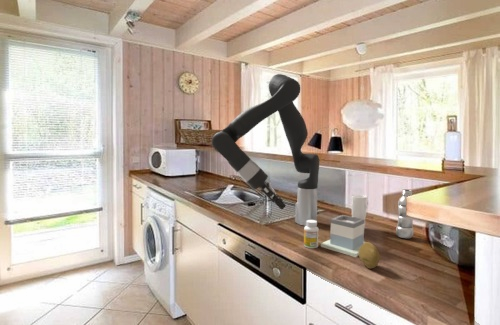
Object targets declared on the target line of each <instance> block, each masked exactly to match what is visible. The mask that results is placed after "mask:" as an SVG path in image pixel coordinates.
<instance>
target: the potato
mask: <svg viewBox="0 0 500 325" xmlns="http://www.w3.org/2000/svg"><path fill="white" fill-rule="evenodd" d="M364 242H365V243H364V244H363V245H362V246H361V247H360V250H359V256H358V257H359V259H360V261H361V263H363V265H364V266H365V267H366V268H367V269H370V270H371V269H374V268H376V267H377V266H378V264H379V263H380V258H381V255H380V252H379V249H377V247H376V246H375V245H374V243H371V242H370V241H364Z"/></svg>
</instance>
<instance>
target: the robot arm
mask: <svg viewBox="0 0 500 325" xmlns="http://www.w3.org/2000/svg"><path fill="white" fill-rule="evenodd" d="M268 90H269V91H268V92H269V94H270V98H268V99H267V100H265V101H263V102H261V103H258V104H256V105H254V106H251V107H249V108H247V109H245V110H243V111H242V112H241V113H239V114H238V115H237V116H236V117H234V119H233V120H231V121H230V123H229V124H227V126H226V127H224V128H223V129H222V130H221V131H218V132H216V133H215V134H213V136H212V138H211V146H212V148H213V150H214V151H216V152H218V153H219V154H220V155H221V156H222V157H223V158H224V159H225V160H226V161H227V163H228V164H229V165H230V166H231V167H232V168H233V169H234V171H235V172H236V173H237V174H238V175H239V177H240V178H241V179H242V180H243V181H244V182H245V183H246V184H247V185H248V186H249V187H250V188H251V189H252V190H254V191H256V190H257V189H258V188H260V191H261V193H262V194H263V195H265V196H266V197H267V199H269V200H270V201H271V202H272V203H274V204H275V205H276V206H277V207H278V208H279V209H281V210H284V208H286V206H287V205H286V204H285V203H284V201H283V199H282V198H281V197H280V196H279V195H278V194H277V192H276V191H275V189H274V188H273V186H272V185H271V184H270V182H267V179H268V178H269V175H268V174H267V172H265V171H264V170H263V169H262V168H261V167H260V166H259V164H257V163H256V162H255V160H252V159H251V158H250V157H249V156H248V155H247V153H246V152H245V151H243V150H242V149H241V147H239V145H238V144H237V143H236V142H238V141H239V140H240V138H242V137H244V136H245V135H247V134H248V133H249V132H250V131H251V130H253V129H254V128H255V127H256V126H258V125H259V124H260V123H261V122H262V121H264V120H265V119H267V118H268V117H271V116H272V115H273V114H275V113H277V112H278V115H279V118H280V121H281V123H282V127H283V130H284V134H285V136H286V139H287V141H288V145H289V147H290V151H291V152H290V153H291V155H292V156H291V157H292V160H293V164H294V168H295V170H296V172H298V173H301V174H309V176H308V177H307V178H304V179H301V180H299V181H298V182H297V196H296V197H297V200H296V201H297V202H295V203H294V204H295V206H294V207H295V208H294V210H295V212H294V214H295V216H294V223H295V224H296V223H297V225H300V226H304V227H305V226H307V225H306V221H307V220H315V221H317V222H318V220H317V218H318V215H317V214H318V186H319V185H318V184H319V174H320V173H319V170H320V157H319V155H318V154H315V153H303V152H302V148H303V145H304V144H305V143H306V140H307V138H308V135H309V134H308V128H307V125H306V122H305V119H304V118H303V116H302V114H301V112H300V110H298V108H297V107H296V105H295V104H294V101H295V100H296V99H297V98H298V97H299V95H300V93H301V85H300V82H299V81H298V80H296V79H294V78H292V77H290V76H288V75H285V74H281V73H277V74H274V75H273V76H272V77H271V78H270V81H269V84H268Z"/></svg>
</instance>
